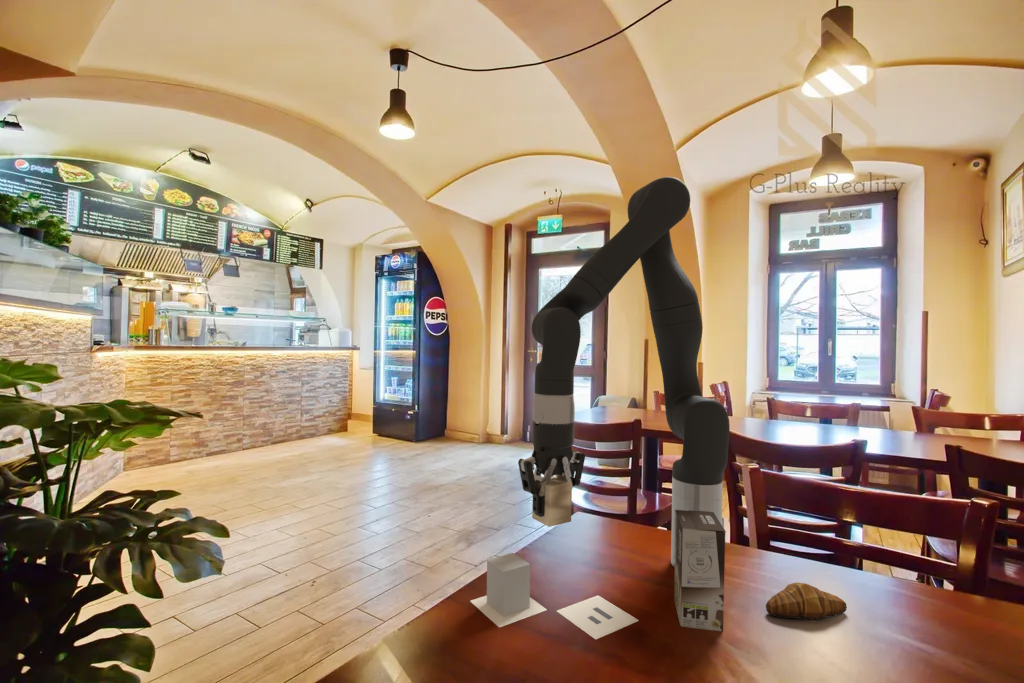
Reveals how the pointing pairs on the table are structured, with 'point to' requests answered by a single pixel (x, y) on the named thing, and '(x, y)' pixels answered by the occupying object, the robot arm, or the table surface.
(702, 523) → the coffee box
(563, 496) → the maple block
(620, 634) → the table surface
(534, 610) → the code tile
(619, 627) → the code tile
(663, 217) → the robot arm
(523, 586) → the grey block
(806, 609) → the croissant
